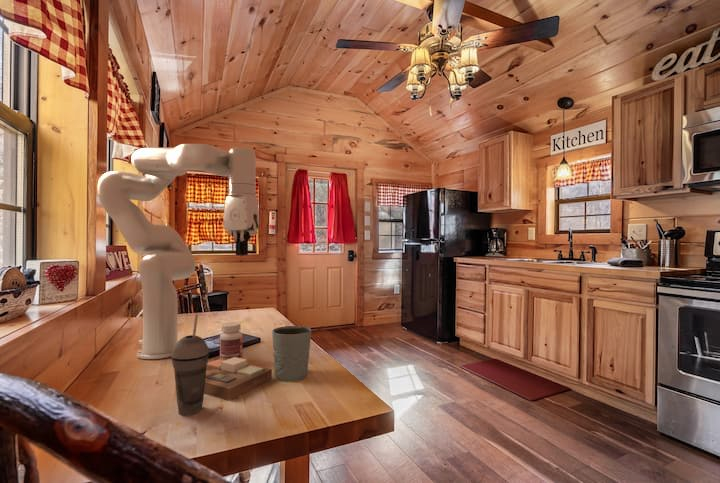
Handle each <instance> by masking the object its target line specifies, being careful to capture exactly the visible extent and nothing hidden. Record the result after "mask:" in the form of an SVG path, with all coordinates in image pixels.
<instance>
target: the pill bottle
mask: <svg viewBox="0 0 720 483" xmlns="http://www.w3.org/2000/svg"><path fill="white" fill-rule="evenodd" d="M220 330H221V333H220V335H219V359H221V358H222V359H226V360H228V359H230V358H233V357H236V358H241V359H243V332H241V330H242V329H241V323H240V322H236V321H232V322H229V321H228V322H224V323H221V329H220Z"/></svg>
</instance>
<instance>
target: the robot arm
mask: <svg viewBox="0 0 720 483" xmlns="http://www.w3.org/2000/svg"><path fill="white" fill-rule="evenodd" d="M256 158H257V156H256V152H255V151H254V150H253V149H252V148H249V147H243V146H235V147H232V148H230V149H229V150H225V149H221V148H219V147H218V146H217V147H216V146H213V145H210V144H208V143H207V144H205V143H181V144H178V145H177V146H175V147H170V146H169V147H152V146H151V147H141V148H139V149H137V150H135V151H134V152H133V153H132V155H131V159H130V160H131V164H132V166H133V168H134V170H136V171H137V172H138V173H141V174H138V173H132V172H127V171H120V170H115V171H108V172H105V173H104V174H102V175H101V176H100V178H99V179H98V183H97V197H98V201H99V203H100V204H101V207H102V208H103V209H104V211H105V213H107V214H108V216H109V217H110V218H111V220H112V221H113V222H114V224H115V226H116V227H117V229H118V230H119V232H120V234H121V236H122V237H123V239H124V240H125V241H126V243H127V245H128V247H129V248H130V249H131V251H133V252H134V253H136V254H140V255H144V256H143V257H142V258H141V260H139V264H138V272H139V276H140V280H141V281H140V282H141V283H140V284H141V289H142V291H141V292H142V337H141V339H139V340H138V344H140V345H141V349H139V350H138V351H137V352H136V357H137V358H138V359H142V360H159V359H167V358H171V356H172V352H173V349H174V346H175V345H176V343H177V342H178V341H179V340H178V336H179V335H178V332H179V331H178V328H179V327H178V326H179V325H178V324H179V323H178V321H179V318H178V317H179V316H178V313H179V312H178V310H179V309H178V305H179V304H178V303H179V302H178V292H177V289H176V287H175V285H174V283H173V281H179V280H184V279H185V280H186V279H188V278H189V277H192V275H193V274H194V273H195V270H196V268H197V267H196V265H197V263H196V261H195V257H194V255H193V254H192V252H191V251H190V249H189V248H188V245H187V244H186V242H184V240H183V238H182V237H181V235H180V234H179V233H178V232H177V230H176V229H174V228H173V227H171V226H170V225H164V224H155V223H153V222H151V221H150V220H149V219H148V218H147V216H146V214H145V212H144V211H143V210H142V209H141V208H140V207H139V206H138V205H136V204H135V203H134V202H133V201H141V202H149V201H152V200H154V199H156V198H157V197H158V196H160V194H162V192H164V190H165V189H167V187H168V186H169V185H170V184H171V183H173V181H174V180H175V179H176V177H181V176H184V175H186V174H187V173H188V171H198V172H204V173H209V174H213V175H215V176H221V177H227V178H228V183H227V184H228V188H227V195H228V196H226V197H225V202H224V208H223V220H222V222H223V225H222V226H223V229H224V230H225V231H226V234H227V235H229V236H232V237H233V242H235V255H236V256H248V255H249V242H250V241H251V238H252V237H253V236H256V235H257V234H258V229H259V228H260V210H259V209H260V207H259V201H258V197H257V195H256V193H257V192H256V191H257V190H256V181H257V178H256V176H257V174H256V172H257V166H256V165H257V159H256ZM142 174H143V175H142Z"/></svg>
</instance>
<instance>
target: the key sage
mask: <svg viewBox="0 0 720 483" xmlns="http://www.w3.org/2000/svg"><path fill="white" fill-rule="evenodd" d="M254 366H255V365H254ZM254 366H248V367H245V368H243V369H240V370H238V371H237V374H238V375H242V376H247V377H252V376H255V375H257V374H259V373H261V372H263V368H264V367H263V368H259V367H260V366H259V367H254Z"/></svg>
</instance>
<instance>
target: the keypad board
mask: <svg viewBox="0 0 720 483" xmlns="http://www.w3.org/2000/svg"><path fill="white" fill-rule="evenodd" d="M221 359H222V358H221ZM222 360H226V359H222ZM248 366H254V367H259V368H263V372H261V373H259V374H257V375H255V376H252V377H247V376H242V375H238V374H237V372H235V373H232V372H228V371H224V370H221V368H220V369H218V370H217V369H213V368H209V367H206V376H205V387H204V395H205V394H206V395H209V396H211V397H216V398H220V399H222V400H226V401H231V400H233V399H235V398H237V397H239V396H241V395H243V394H245V393H248V392H249V391H251V390H254V389H255V388H257V387H259V386H262V385H264V384H266V383H267V382H270V381H271V380H272V378H273V377H272V376H273V375H272V374H273V371H272V369H271V368H267V367H263V366H259V365H254V364H248V363H247V367H248Z"/></svg>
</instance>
